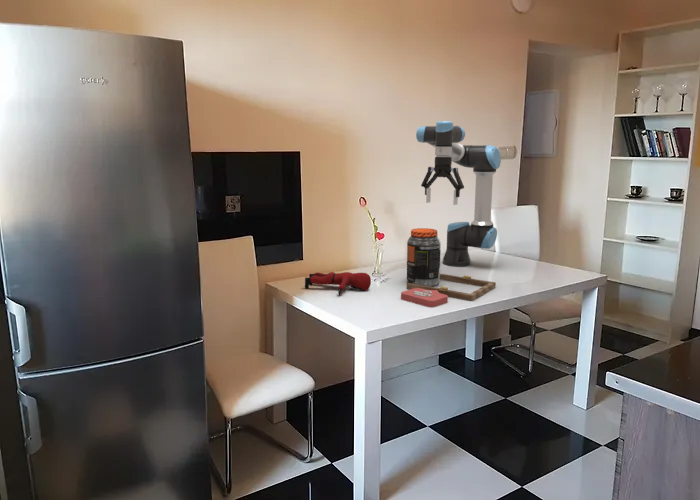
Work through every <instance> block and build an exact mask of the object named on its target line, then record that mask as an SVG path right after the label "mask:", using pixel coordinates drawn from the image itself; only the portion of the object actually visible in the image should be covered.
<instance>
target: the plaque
mask: <svg viewBox="0 0 700 500" xmlns="http://www.w3.org/2000/svg"><path fill="white" fill-rule="evenodd" d="M400 299H401V300H402V301H406V302H410V303H414V304H417V305H420V306H425V307H428V308H436V307H438V306H441V305H444V304H448V302H449V301H448V300H449V297H448V296H447V295H445V294H441V293H439V292H438V291H437V290H425V289H421V288H414V289H410V290H409V289H406V290H403V291H402V292H401V293H400Z"/></svg>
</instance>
